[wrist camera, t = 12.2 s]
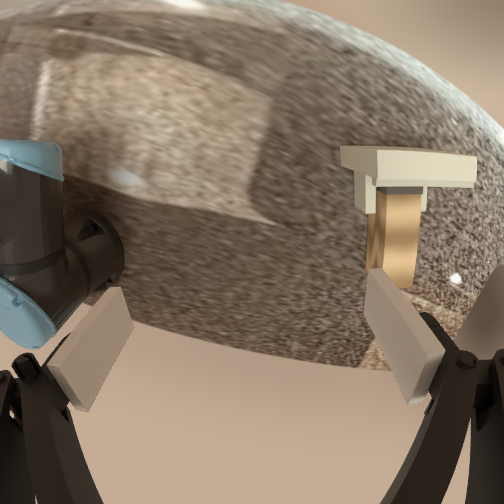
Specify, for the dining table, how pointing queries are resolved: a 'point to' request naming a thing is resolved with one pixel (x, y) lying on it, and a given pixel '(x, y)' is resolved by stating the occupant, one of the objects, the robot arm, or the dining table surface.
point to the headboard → (404, 170)
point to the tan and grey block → (395, 232)
